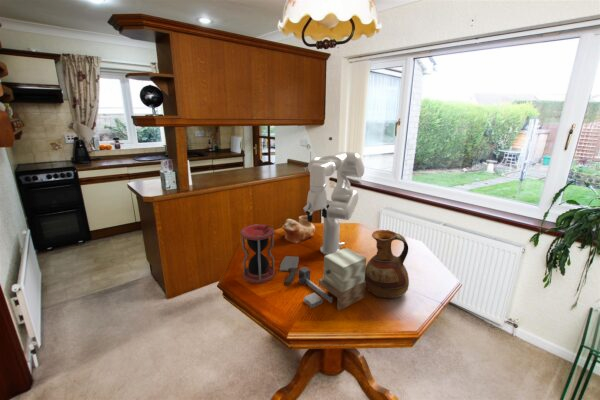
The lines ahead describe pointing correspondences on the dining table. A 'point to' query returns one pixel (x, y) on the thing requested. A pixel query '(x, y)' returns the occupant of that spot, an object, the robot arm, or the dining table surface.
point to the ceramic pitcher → (387, 267)
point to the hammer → (305, 279)
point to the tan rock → (298, 229)
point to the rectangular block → (313, 300)
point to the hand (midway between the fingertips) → (317, 219)
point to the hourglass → (258, 253)
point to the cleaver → (289, 268)
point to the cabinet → (344, 276)
